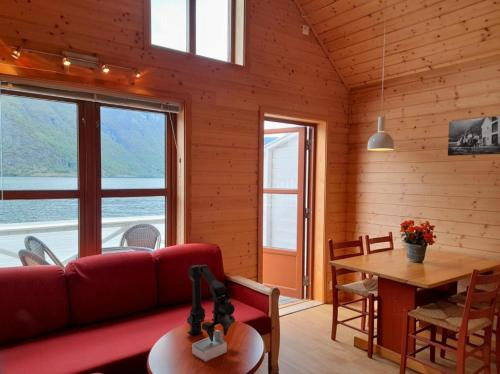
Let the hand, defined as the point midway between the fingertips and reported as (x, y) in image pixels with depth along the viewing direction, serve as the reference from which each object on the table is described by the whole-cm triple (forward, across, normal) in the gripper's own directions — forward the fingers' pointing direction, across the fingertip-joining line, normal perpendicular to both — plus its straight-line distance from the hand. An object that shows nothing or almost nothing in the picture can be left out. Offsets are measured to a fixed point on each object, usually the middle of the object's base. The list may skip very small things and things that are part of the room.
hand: (218, 338), depth 186 cm
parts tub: (+6, -6, 0) cm, 8 cm away
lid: (+1, -6, 0) cm, 6 cm away
